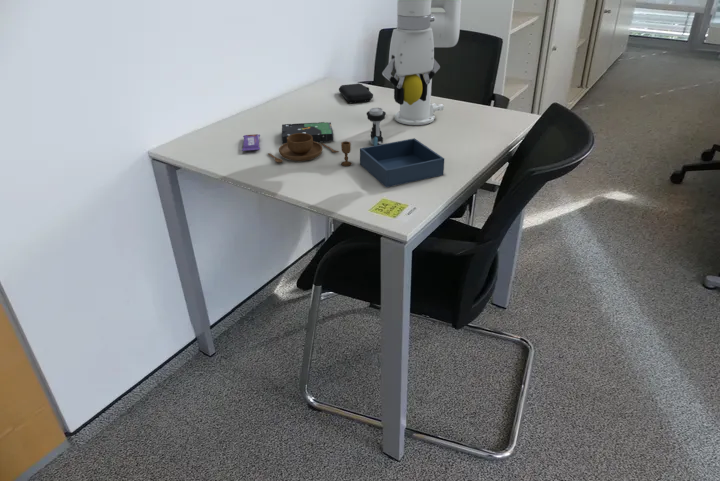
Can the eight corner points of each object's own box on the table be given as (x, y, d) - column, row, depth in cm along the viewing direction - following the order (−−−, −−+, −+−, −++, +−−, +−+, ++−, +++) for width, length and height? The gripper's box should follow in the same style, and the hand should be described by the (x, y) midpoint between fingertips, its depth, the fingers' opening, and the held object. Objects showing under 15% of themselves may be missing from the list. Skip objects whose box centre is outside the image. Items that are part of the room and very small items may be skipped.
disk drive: (282, 145, 154) (334, 142, 156) (281, 136, 153) (333, 132, 154) (282, 133, 163) (331, 129, 165) (281, 124, 162) (330, 120, 163)
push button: (389, 147, 152) (390, 113, 147) (371, 150, 151) (371, 115, 145) (381, 139, 157) (382, 105, 152) (364, 141, 156) (364, 107, 151)
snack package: (259, 146, 149) (241, 147, 149) (260, 152, 150) (242, 154, 150) (259, 131, 159) (242, 132, 158) (260, 137, 160) (243, 138, 159)
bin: (413, 153, 148) (414, 138, 146) (443, 175, 136) (444, 158, 134) (360, 164, 143) (359, 148, 140) (386, 187, 131) (386, 170, 128)
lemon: (409, 100, 136) (410, 67, 132) (426, 104, 133) (428, 71, 129) (394, 105, 133) (395, 72, 129) (411, 110, 130) (412, 76, 125)
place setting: (319, 140, 157) (318, 121, 154) (355, 164, 143) (355, 143, 140) (263, 153, 149) (261, 133, 146) (295, 180, 135) (294, 158, 132)
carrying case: (377, 101, 187) (365, 89, 199) (377, 93, 185) (365, 81, 198) (347, 104, 185) (337, 92, 197) (347, 95, 183) (337, 84, 195)
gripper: (437, 17, 129) (432, 92, 138) (372, 23, 123) (372, 102, 132) (454, 22, 123) (448, 100, 132) (387, 29, 117) (386, 110, 126)
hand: (410, 100), depth 132 cm, fingers closed on lemon, 5 cm apart
